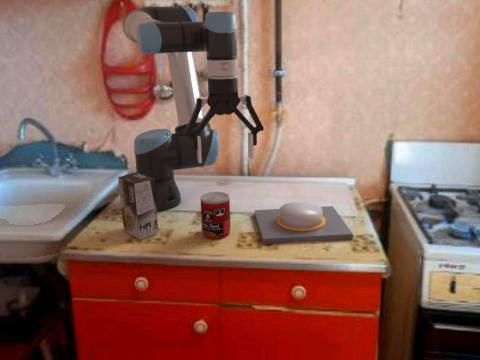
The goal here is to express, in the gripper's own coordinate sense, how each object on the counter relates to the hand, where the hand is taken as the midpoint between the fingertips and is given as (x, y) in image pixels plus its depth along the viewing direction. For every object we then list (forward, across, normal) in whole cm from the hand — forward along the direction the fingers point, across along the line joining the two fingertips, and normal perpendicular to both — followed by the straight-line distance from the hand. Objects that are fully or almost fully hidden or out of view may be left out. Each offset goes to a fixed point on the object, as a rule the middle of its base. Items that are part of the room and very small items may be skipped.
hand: (225, 159), depth 126 cm
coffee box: (+21, -24, +8) cm, 33 cm away
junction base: (+21, +21, 0) cm, 30 cm away
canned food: (+21, -3, +1) cm, 22 cm away
